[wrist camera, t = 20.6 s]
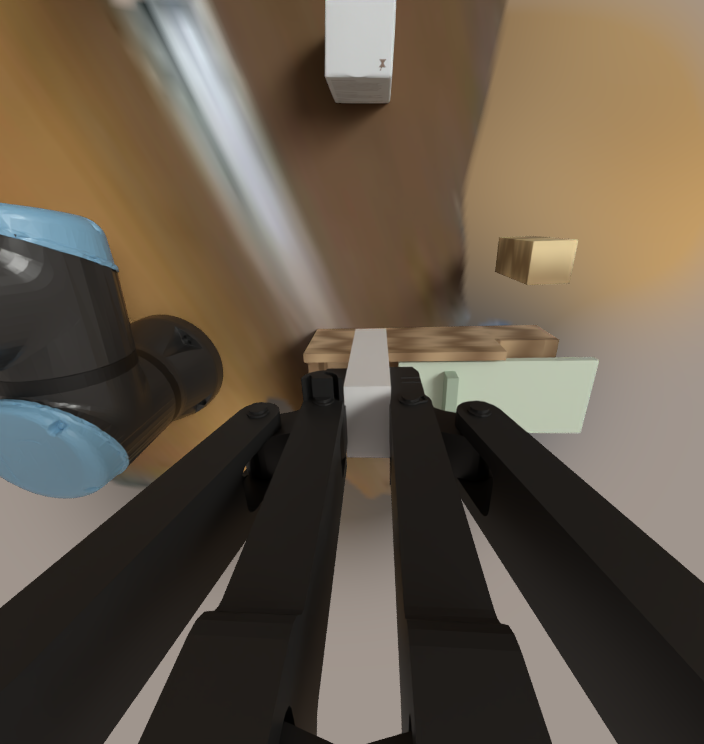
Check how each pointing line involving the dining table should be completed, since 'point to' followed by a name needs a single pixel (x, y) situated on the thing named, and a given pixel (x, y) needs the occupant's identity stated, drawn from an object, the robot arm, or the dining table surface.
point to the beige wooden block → (536, 259)
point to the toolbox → (436, 344)
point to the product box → (359, 49)
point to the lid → (515, 388)
